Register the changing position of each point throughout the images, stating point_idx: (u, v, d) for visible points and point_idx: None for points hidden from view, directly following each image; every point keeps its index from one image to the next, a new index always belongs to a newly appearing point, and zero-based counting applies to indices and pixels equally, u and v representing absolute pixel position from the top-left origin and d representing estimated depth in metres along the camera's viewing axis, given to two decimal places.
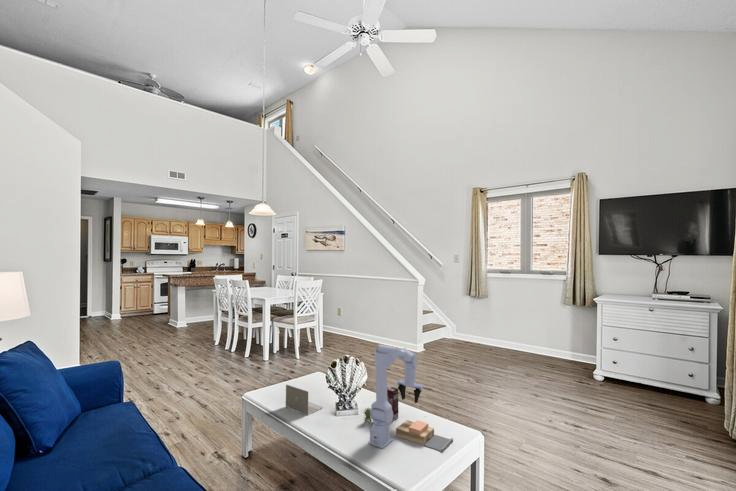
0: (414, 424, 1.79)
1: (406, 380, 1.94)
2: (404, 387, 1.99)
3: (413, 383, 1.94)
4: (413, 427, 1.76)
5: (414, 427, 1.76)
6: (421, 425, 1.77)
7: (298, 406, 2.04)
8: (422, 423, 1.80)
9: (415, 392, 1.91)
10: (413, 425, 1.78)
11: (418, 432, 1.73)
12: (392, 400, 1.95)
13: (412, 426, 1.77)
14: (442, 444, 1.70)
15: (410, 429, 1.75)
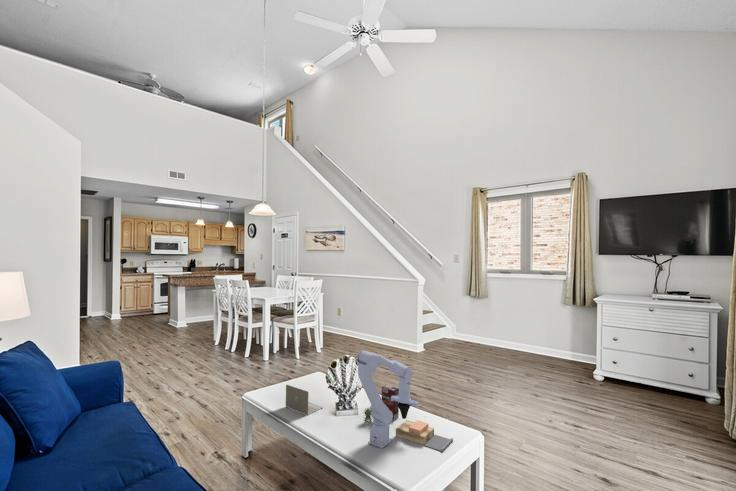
0: (414, 424, 1.79)
1: (400, 396, 1.81)
2: None
3: (408, 399, 1.80)
4: (413, 427, 1.76)
5: (414, 427, 1.76)
6: (421, 425, 1.77)
7: (298, 406, 2.04)
8: (422, 423, 1.80)
9: (403, 407, 1.80)
10: (413, 425, 1.78)
11: (418, 432, 1.73)
12: (393, 400, 1.95)
13: (412, 426, 1.77)
14: (442, 444, 1.70)
15: (410, 429, 1.75)
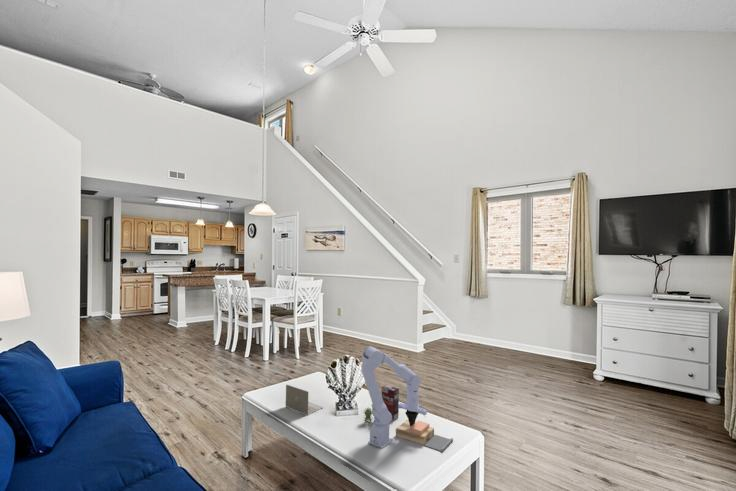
0: (415, 424, 1.78)
1: (408, 404, 1.78)
2: None
3: (416, 407, 1.78)
4: (414, 427, 1.75)
5: (415, 427, 1.75)
6: (422, 426, 1.77)
7: (298, 406, 2.04)
8: (423, 423, 1.80)
9: (411, 415, 1.77)
10: (414, 425, 1.77)
11: (419, 432, 1.73)
12: (393, 400, 1.95)
13: (413, 426, 1.76)
14: (442, 444, 1.70)
15: (411, 429, 1.75)
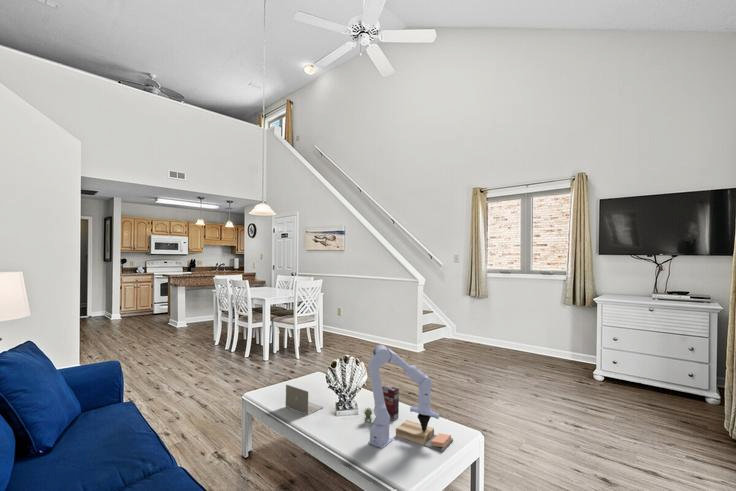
0: None
1: (420, 407, 1.75)
2: None
3: (428, 411, 1.74)
4: None
5: None
6: None
7: (298, 406, 2.04)
8: None
9: (424, 419, 1.74)
10: None
11: (432, 443, 1.69)
12: (393, 400, 1.95)
13: None
14: None
15: (441, 445, 1.66)
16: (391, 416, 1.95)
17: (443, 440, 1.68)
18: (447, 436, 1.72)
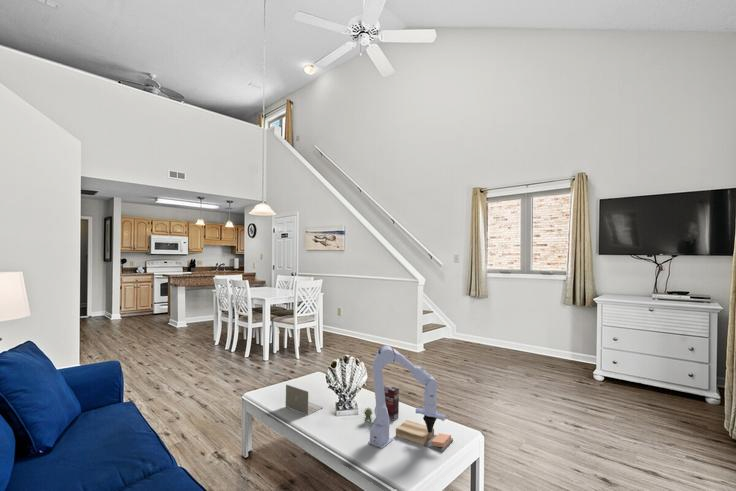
0: None
1: (426, 409, 1.73)
2: None
3: (434, 412, 1.72)
4: None
5: None
6: None
7: (298, 406, 2.04)
8: None
9: (430, 421, 1.72)
10: None
11: (432, 443, 1.69)
12: (393, 400, 1.95)
13: None
14: None
15: (441, 445, 1.66)
16: (391, 416, 1.95)
17: (443, 440, 1.68)
18: (447, 436, 1.72)
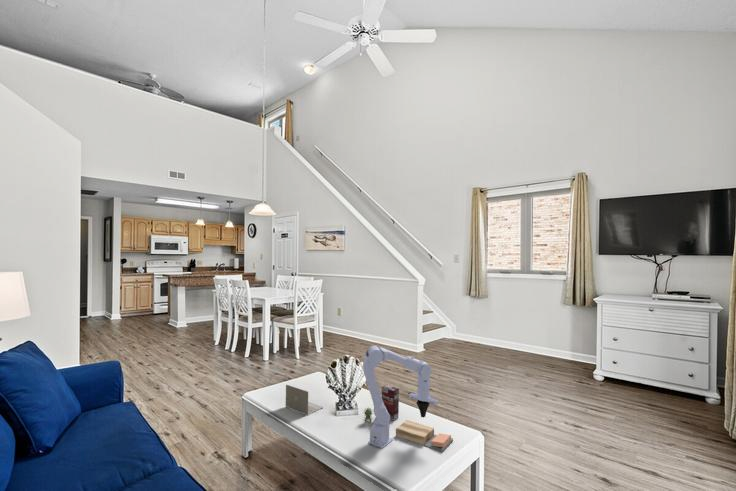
0: None
1: (419, 394, 1.75)
2: None
3: (427, 397, 1.75)
4: None
5: None
6: None
7: (298, 406, 2.04)
8: None
9: (423, 405, 1.74)
10: None
11: (432, 443, 1.69)
12: (393, 400, 1.95)
13: None
14: None
15: (441, 445, 1.66)
16: (391, 416, 1.95)
17: (443, 440, 1.68)
18: (447, 436, 1.72)
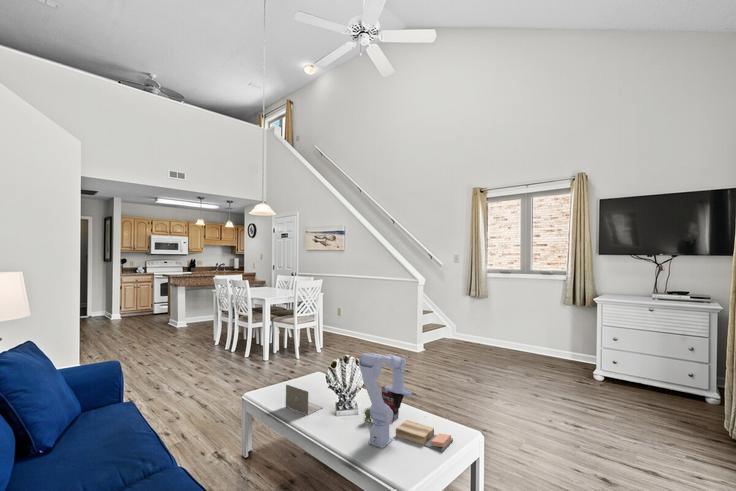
0: None
1: (394, 386, 1.84)
2: None
3: (401, 389, 1.84)
4: None
5: None
6: None
7: (298, 406, 2.04)
8: None
9: (397, 397, 1.83)
10: None
11: (432, 443, 1.69)
12: (393, 400, 1.95)
13: None
14: None
15: (441, 445, 1.66)
16: None
17: (443, 440, 1.68)
18: (447, 436, 1.72)
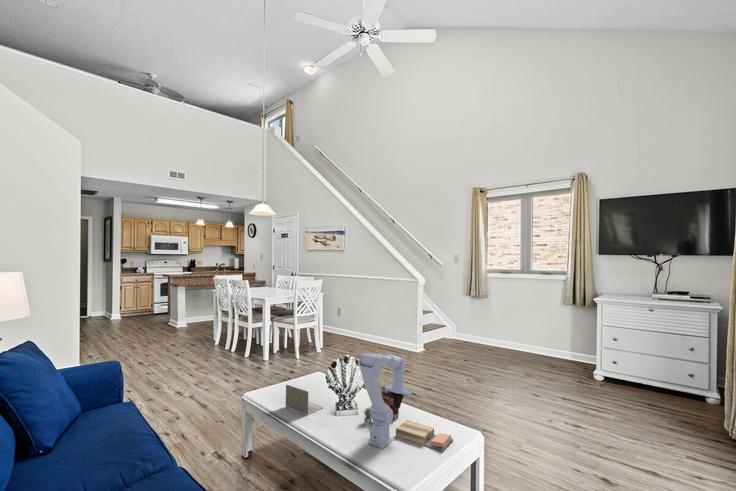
0: None
1: (394, 386, 1.84)
2: None
3: (401, 389, 1.84)
4: None
5: None
6: None
7: (298, 406, 2.04)
8: None
9: (397, 397, 1.83)
10: None
11: (432, 443, 1.69)
12: (393, 400, 1.95)
13: None
14: None
15: (441, 445, 1.66)
16: None
17: (443, 440, 1.68)
18: (447, 436, 1.72)
